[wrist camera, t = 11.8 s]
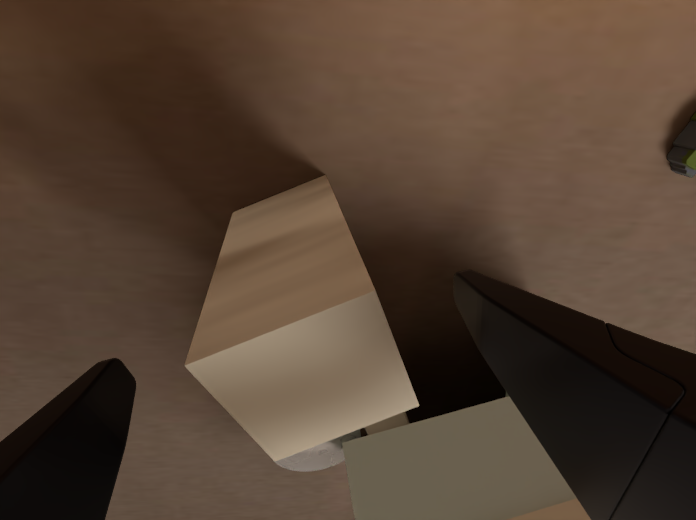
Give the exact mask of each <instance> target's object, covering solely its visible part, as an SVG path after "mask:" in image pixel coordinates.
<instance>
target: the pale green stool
mask: <svg viewBox="0 0 696 520" xmlns="http://www.w3.org/2000/svg"><path fill="white" fill-rule="evenodd" d="M342 445H343V451H344V457H345V463H346V469H347V475H348V481H349V487H350V493H351V499H352V505H353V511H354V517H355V520H591V519H590V517H589V516H588V514H587V513H586V511H585V510H584V508H583V507H582V505H581V504H580V502H579V501H578V499H577V498H576V496H575V495H574V493H573V492H572V490H571V489H570V487H569V486H568V484H567V483H566V481H565V480H564V478H563V477H562V475H561V474H560V472H559V471H558V469H557V468H556V466H555V465H554V463H553V461H552V460H551V458H550V457H549V455H548V454H547V452H546V451H545V449H544V448H543V446H542V445H541V443H540V442H539V440H538V439H537V437H536V436H535V434H534V433H533V431H532V430H531V428H530V427H529V425H528V424H527V422H526V421H525V419H524V418H523V416H522V415H521V413H520V412H519V410H518V409H517V407H516V406H515V404H514V403H513V401H512V400H511V398H510V397H509V395H508V394H507V392H506V396H505V398H501V399H497V400H494V401H490V402H487V403H483V404H479V405H476V406H472V407H469V408H465V409H461V410H458V411H454V412H451V413H447V414H443V415H440V416H436V417H433V418H429V419H425V420H422V421H418V422H415V423H411V424H407V425H404V426H400V427H397V428H393V429H389V430H386V431H382V432H379V433H375V434H371V435H368V436H364V437H361V438H357V439H353V440H350V441H346V442H343V443H342Z"/></svg>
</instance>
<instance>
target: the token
mask: <svg viewBox="0 0 696 520" xmlns="http://www.w3.org/2000/svg"><path fill="white" fill-rule="evenodd" d="M357 438H361V432H360V429H358V430H356V431H353V432H351V433H348V434H345V435H343V436H340V437H338V438H335V439H332V440H330V441H327V442H325V443H322V444H319V445H317V446H314V447H312V448H309V449H306V450H304V451H301V452H299V453H296V454H294V455H291V456H288V457H286V458H283V459H281V460H278V461H274V460H273V459H272V460H273V461H274V462H275V463H276V464H278V465H279V466H281V467H283V468H286V469H289V470H293V471H316V470H321V469H325V468H329V467H332V466H334V465H336V464H339V463H340V462H342V461H344V460H345V457H344V451H343V445H342V443H343V442H346V441H350V440H353V439H357Z"/></svg>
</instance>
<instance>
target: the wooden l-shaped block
mask: <svg viewBox="0 0 696 520" xmlns="http://www.w3.org/2000/svg"><path fill="white" fill-rule="evenodd" d="M184 366H185V367H186V368H187V369H188V370H189V371H190V372H191V373H192V374H193V375H194V377H195V378H196V379H197V380H198V381H199V382H200V383H201V384H202V385H203V386H204V387H205V388H206V389H207V390H208V391H209V392H210V393H211V395H212V396H213V397H214V398H215V399H216V400H217V401H218V402H219V403H220V404H221V405H222V406H223V407H224V408H225V409H226V410H227V412H228V413H229V414H230V415H231V416H232V417H233V418H234V419H235V420H236V421H237V422H238V423H239V424H240V425H241V426H242V427H243V428H244V430H245V431H246V432H247V433H248V434H249V435H250V436H251V437H252V438H253V439H254V440H255V441H256V442H257V443H258V444H259V445H260V446H261V448H262V449H263V450H264V451H265V452H266V453H267V454H268V455H269V456H270V457H271V458H272V459H273V460H274V461H278V460H281V459H283V458H286V457H288V456H291V455H294V454H296V453H299V452H301V451H304V450H306V449H309V448H312V447H314V446H317V445H319V444H322V443H325V442H327V441H330V440H332V439H335V438H338V437H340V436H343V435H345V434H348V433H351V432H353V431H356V430H358V429H361V428H364V429H365V430H366V432H367V434H368V435H371V434H375V433H379V432H382V431H386V430H389V429H393V428H397V427H400V426H404V425H407V424H410V423H409V420H408V417H407V415H406V412H405V411H408V410H410V409H413V408H416V407H418V406H419V403H418V400H417V398H416V395H415V393H414V390H413V387H412V385H411V382H410V379H409V377H408V374H407V372H406V369H405V366H404V364H403V361H402V359H401V356H400V353H399V351H398V348H397V345H396V343H395V340H394V338H393V335H392V332H391V330H390V327H389V325H388V322H387V319H386V317H385V314H384V312H383V309H382V306H381V304H380V301H379V298H378V296H377V293H376V291H375V288H374V286H373V284H372V281H371V279H370V277H369V274H368V272H367V270H366V267H365V265H364V263H363V260H362V258H361V256H360V253H359V251H358V249H357V246H356V244H355V242H354V239H353V237H352V235H351V232H350V230H349V228H348V225H347V223H346V221H345V218H344V216H343V214H342V212H341V209H340V207H339V205H338V202H337V200H336V198H335V195H334V193H333V191H332V188H331V186H330V184H329V181H328V179H327V177H326V175H324V176H321V177H319V178H316V179H314V180H311V181H309V182H306V183H304V184H302V185H299V186H297V187H294V188H292V189H289V190H287V191H284V192H282V193H279V194H277V195H274V196H272V197H269V198H267V199H264V200H262V201H260V202H257V203H255V204H252V205H250V206H247V207H245V208H242V209H240V210H237V211H235V212H233V213H232V216H231V220H230V223H229V226H228V229H227V232H226V235H225V239H224V242H223V245H222V248H221V251H220V254H219V258H218V261H217V264H216V267H215V270H214V273H213V277H212V280H211V283H210V286H209V289H208V292H207V296H206V299H205V302H204V305H203V308H202V311H201V315H200V318H199V321H198V324H197V327H196V330H195V333H194V337H193V340H192V343H191V346H190V349H189V352H188V356H187V359H186V362H185V365H184Z"/></svg>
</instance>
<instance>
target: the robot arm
mask: <svg viewBox="0 0 696 520" xmlns="http://www.w3.org/2000/svg"><path fill="white" fill-rule="evenodd" d="M454 301H455V304H456V306H457V308H458V310H459V312H460V314H461V316H462V318H463V320H464V322H465V324H466V326H467V328H468V330H469V332H470V334H471V336H472V338H473V340H474V342H475V344H476V345H477V347H478V349H479V351H480V352H481V354H482V356H483V357H484V359H485V360H486V362H487V363H488V365H489V366H490V368H491V369H492V371H493V372H494V374H495V375H496V377H497V378H498V380H499V382H500V383H501V385H502V386H503V388H504V389H505V391H506V392H507V394H508V395H509V397H510V398H511V400H512V401H513V403H514V404H515V406H516V407H517V409H518V410H519V412H520V413H521V415H522V416H523V418H524V419H525V421H526V422H527V424H528V425H529V427H530V428H531V430H532V431H533V433H534V434H535V436H536V437H537V439H538V440H539V442H540V443H541V445H542V446H543V448H544V449H545V451H546V452H547V454H548V455H549V457H550V458H551V460H552V461H553V463H554V465H555V466H556V468H557V469H558V471H559V472H560V474H561V475H562V477H563V478H564V480H565V481H566V483H567V484H568V486H569V487H570V489H571V490H572V492H573V493H574V495H575V496H576V498H577V499H578V501H579V502H580V504H581V505H582V507H583V508H584V510H585V511H586V513H587V514H588V516H589V517H590V519H591V520H696V354H694V353H690V352H687V351H684V350H682V349H679V348H676V347H673V346H670V345H667V344H664V343H661V342H658V341H655V340H652V339H649V338H647V337H644V336H641V335H639V334H636V333H633V332H631V331H628V330H625V329H623V328H620V327H617V326H615V325H612V324H610V323H606V324H605V322H604V321H602V320H599V319H597V318H594V317H591V316H589V315H586V314H584V313H581V312H578V311H576V310H573V309H571V308H568V307H566V306H563V305H560V304H558V303H555V302H553V301H550V300H547V299H545V298H542V297H540V296H537V295H534V294H532V293H529V292H527V291H524V290H522V289H519V288H516V287H514V286H511V285H509V284H506V283H503V282H501V281H498V280H496V279H493V278H491V277H488V276H485V275H483V274H480V273H478V272H475V271H472V270H464V271H460V272H457V273H455V274H454ZM135 391H136V381H135V378H134V377H133V375H132V374H131V373H130V372H129V370H128V369H127V368H126V366H125V365H124V364H123V363H122V361H121V360H119V359H117V358H112V359H108V360H104V361H101V362H98V363H97V364H95V365H94V366H93V367H92V368H90V369H89V370H88V371H87V372H86V373H84V374H83V375H82V376H81V377H79V378H78V379H77V380H76V381H75V382H73V383H72V384H71V385H70V386H68V387H67V388H66V389H65V390H64V391H62V392H61V393H60V394H59V395H57V396H56V397H55V398H54V399H52V400H51V401H50V402H49V403H48V404H46V405H45V406H44V407H43V408H41V409H40V410H39V411H38V412H37V413H35V414H34V415H33V416H32V417H30V418H29V419H28V420H27V421H26V422H24V423H23V424H22V425H21V426H19V427H18V428H17V429H16V430H15V431H13V432H12V433H11V434H10V435H8V436H7V437H6V438H5V439H3V440H2V441H1V442H0V520H105V517H106V514H107V510H108V507H109V503H110V500H111V496H112V493H113V489H114V486H115V482H116V479H117V475H118V472H119V468H120V465H121V461H122V457H123V454H124V450H125V446H126V441H127V436H128V431H129V425H130V419H131V414H132V408H133V402H134V397H135Z"/></svg>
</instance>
